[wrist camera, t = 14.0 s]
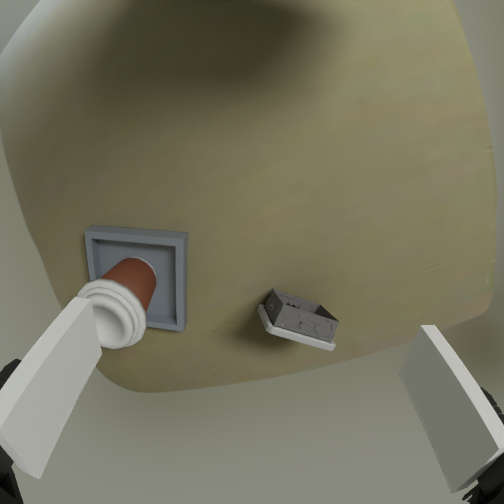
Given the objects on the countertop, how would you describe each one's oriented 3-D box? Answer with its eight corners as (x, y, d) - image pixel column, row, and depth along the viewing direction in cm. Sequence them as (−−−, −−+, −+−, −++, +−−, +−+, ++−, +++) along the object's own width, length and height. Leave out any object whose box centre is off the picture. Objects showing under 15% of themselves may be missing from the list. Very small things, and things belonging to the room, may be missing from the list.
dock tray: (92, 225, 39) (84, 230, 37) (187, 232, 40) (183, 239, 37) (102, 309, 44) (96, 318, 42) (186, 321, 45) (184, 331, 43)
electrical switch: (255, 307, 44) (260, 343, 35) (270, 276, 43) (277, 307, 34) (313, 325, 45) (328, 362, 37) (328, 296, 44) (348, 329, 35)
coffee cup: (172, 256, 40) (145, 304, 29) (161, 311, 44) (138, 366, 33) (111, 238, 39) (68, 278, 28) (105, 293, 43) (70, 341, 32)
